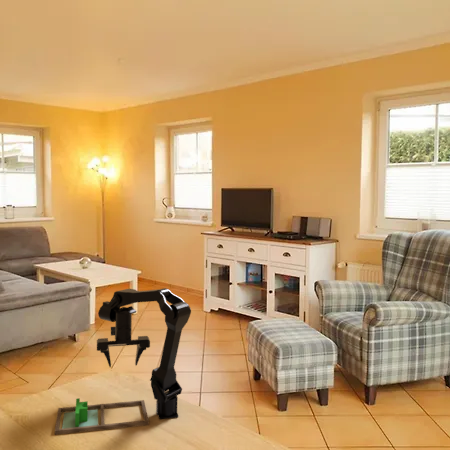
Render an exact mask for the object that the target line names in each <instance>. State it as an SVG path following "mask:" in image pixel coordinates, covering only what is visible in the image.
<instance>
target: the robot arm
mask: <svg viewBox="0 0 450 450" xmlns="http://www.w3.org/2000/svg"><path fill="white" fill-rule="evenodd" d="M147 302H148V303H150V302H156V303H158V307H159V309H160V311H161V312H162V314H163V315H164V322H165V325H166V333H165V338H164V344H163V347H162V352H161V358H160V363H159V366H158V367H155V368H154V369H153V368H152V369H151V370H152V371H151V377H150V379H149V381H150V387H151V390H152V394H153V398H154V400H156V401H155V402H156V404H155V405H156V406H155V411H156V415H157V416H158V419H159V420H162V419H165V420H166V419H173V418H179V413H178V399H179V398H178V396H179V395H181V394H182V390H183V388H182V386H181V385H180V384H179V383H180V382H178V380H177V372H176V368H175V363H176V359H177V355H178V350H179V346H180V342H181V336H182V330H183V329H184V327H185V326H186V324H188V321H189V319H190V317H191V314H192V309H191V307H190V305H189V304H188V303H187V302H186V301H184V299H183V298H181V297H180V296H178V295H176V294H174V293H173V292H172V291H171V290H170V289H168V288H165V287H164V288H160V289H148V290H137V289H134V288H126V289H121V290H116V291H114V292H113V295H112V297H111V299H110V300H109V301H108V300H107V301H103V302H102V305H101V306H100V307H99V310H98V318H99V319H100V320H103V321H108V322H111V323H112V322H113V323H114V322H115V326H110V336H114V340H109V338H107V337H106V338H105V337H104V338H97V340H96V351H97V352H98V351H99V352H100V353H101V354H103V355H104V357H105V359H106V361H107V364H108V366H109V368H111V367H112V363H111V361H112V360H111V355H110V347H122V346H126V347H127V346H136V353H135V354H136V355H135V359H134V360H135V362H134V365H135V367H136V366H137V365H138V362H139V360H140V358H141V356H142V354H143V352H144V351H146V350H147V349H149V348H150V347H151V341H150V338H149V335H142V336H137V339H132V329H133V327H132V325H133V323H132V319H133V316H132V314H136V313H137V310H136V309H135V308H134V307H133V306H132V305H133V304H137V303H147ZM167 302H168V303H169V304H168V303H167ZM130 305H131V306H130Z"/></svg>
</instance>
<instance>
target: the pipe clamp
mask: <svg viewBox="0 0 450 450" xmlns="http://www.w3.org/2000/svg"><path fill="white" fill-rule="evenodd" d="M75 406H76V411H74V412H75V427H79V422H86V421H87V416H88V401H80V398H75Z"/></svg>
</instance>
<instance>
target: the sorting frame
mask: <svg viewBox="0 0 450 450" xmlns="http://www.w3.org/2000/svg"><path fill="white" fill-rule="evenodd" d="M131 406H132V407H133V406H141V410H142V415H143V420H135V421H134V420H133V421H132V420H131V421H124V422H115V423H106V422H105V409H113V408H123V407H124V408H125V407H131ZM99 410H100V424H99V413H98V412H99ZM75 412H76V405H75V406H69V407H68V406H65V407H64V406H63V407H58V408H57V416H56V422H55V427H54V435H65V434H74V433H83V432H84V433H85V432H94V431H103V430H111V429H112V430H113V429H122V428H130V427H140V426H149V425H150V420H149V417H148V416H149V415H148V411H147V408H146V403H145V400H144V399H142V400H140V399H139V400H132V401H131V400H130V401H119V402H110V403H99V404H98V403H97V404H89V405H88V416H87V421H86V422H79V427H75ZM62 413H63V420H62V427H61V428H60V425H61V416H62Z"/></svg>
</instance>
